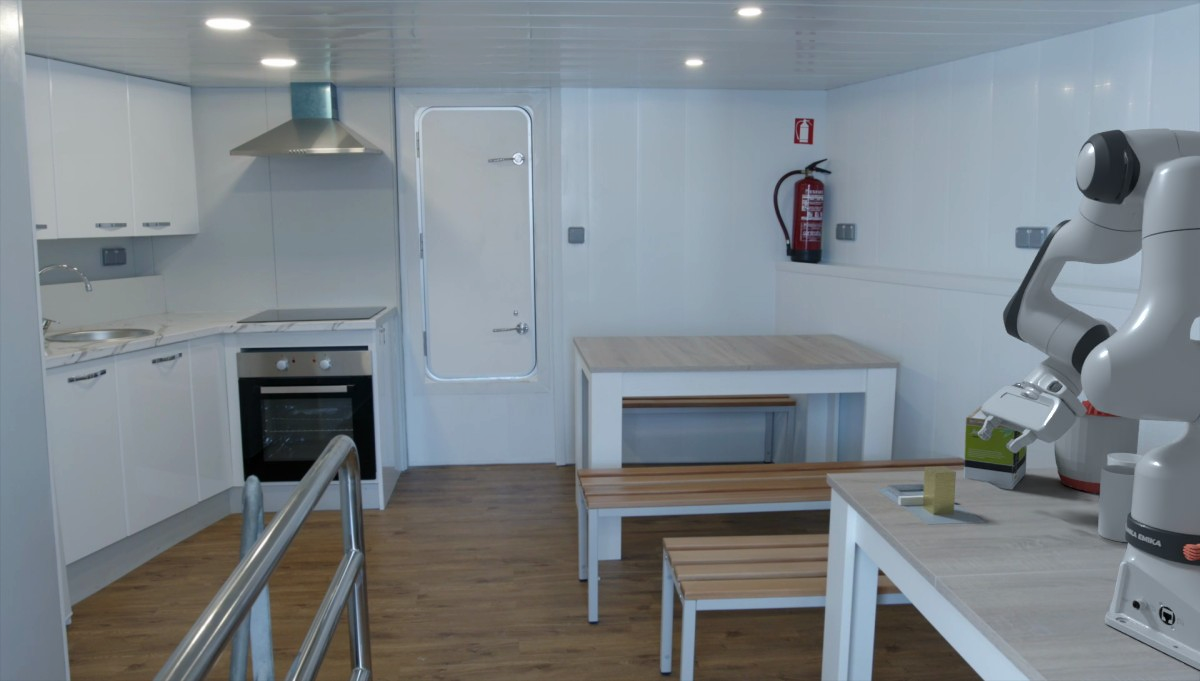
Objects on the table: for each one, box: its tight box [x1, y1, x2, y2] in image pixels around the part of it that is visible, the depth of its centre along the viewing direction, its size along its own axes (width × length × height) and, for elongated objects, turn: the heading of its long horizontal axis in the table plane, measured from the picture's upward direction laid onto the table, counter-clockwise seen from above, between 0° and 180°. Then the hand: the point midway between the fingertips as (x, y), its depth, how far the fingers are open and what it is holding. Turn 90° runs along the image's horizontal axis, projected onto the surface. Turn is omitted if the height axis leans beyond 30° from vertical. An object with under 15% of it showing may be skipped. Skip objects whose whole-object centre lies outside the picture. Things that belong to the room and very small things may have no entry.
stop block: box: [923, 465, 957, 515], centre depth 163 cm, size 4×4×8 cm
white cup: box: [1107, 453, 1144, 468], centre depth 168 cm, size 8×8×10 cm
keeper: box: [886, 483, 924, 498], centre depth 173 cm, size 8×8×1 cm
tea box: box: [963, 405, 1028, 490], centre depth 187 cm, size 15×10×15 cm
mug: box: [1097, 465, 1135, 543], centre depth 153 cm, size 10×7×12 cm, turn 150°
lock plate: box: [875, 487, 987, 526], centre depth 167 cm, size 22×11×2 cm, turn 7°
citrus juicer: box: [1054, 399, 1141, 494], centre depth 182 cm, size 16×17×20 cm
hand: (995, 443), depth 163 cm, fingers open, 8 cm apart
